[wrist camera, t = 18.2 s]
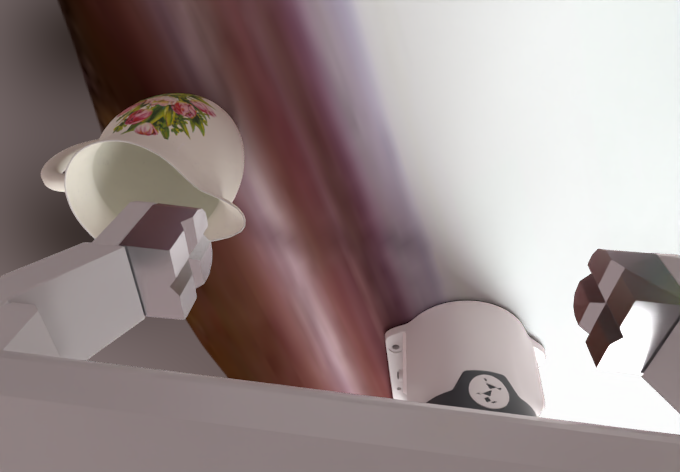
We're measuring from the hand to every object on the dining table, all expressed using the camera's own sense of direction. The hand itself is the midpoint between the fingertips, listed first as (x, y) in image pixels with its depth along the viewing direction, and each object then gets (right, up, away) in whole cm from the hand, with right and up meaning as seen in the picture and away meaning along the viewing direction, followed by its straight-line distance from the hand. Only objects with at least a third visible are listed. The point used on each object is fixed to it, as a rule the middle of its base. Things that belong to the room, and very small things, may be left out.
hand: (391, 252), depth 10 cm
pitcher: (-15, +10, +34) cm, 38 cm away
